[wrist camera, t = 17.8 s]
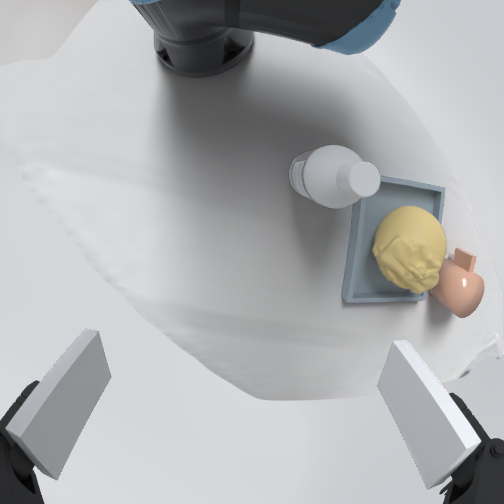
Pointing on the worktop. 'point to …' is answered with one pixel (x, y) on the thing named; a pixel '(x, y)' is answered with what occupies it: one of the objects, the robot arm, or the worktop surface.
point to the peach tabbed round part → (459, 284)
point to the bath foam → (333, 176)
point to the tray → (363, 232)
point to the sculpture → (410, 248)
